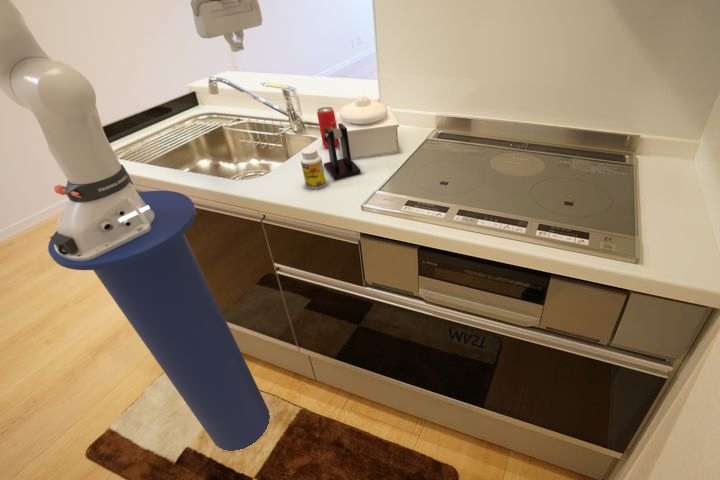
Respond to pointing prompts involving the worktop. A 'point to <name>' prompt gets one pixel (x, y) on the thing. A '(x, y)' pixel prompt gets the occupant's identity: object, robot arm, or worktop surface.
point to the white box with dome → (368, 128)
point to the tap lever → (335, 134)
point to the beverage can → (327, 123)
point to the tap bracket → (341, 166)
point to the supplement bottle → (312, 168)
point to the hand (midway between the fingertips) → (238, 50)
